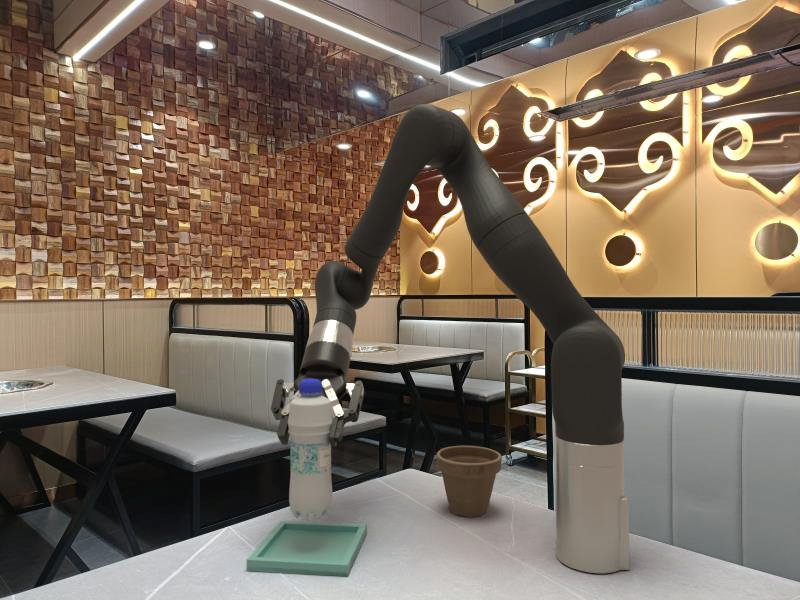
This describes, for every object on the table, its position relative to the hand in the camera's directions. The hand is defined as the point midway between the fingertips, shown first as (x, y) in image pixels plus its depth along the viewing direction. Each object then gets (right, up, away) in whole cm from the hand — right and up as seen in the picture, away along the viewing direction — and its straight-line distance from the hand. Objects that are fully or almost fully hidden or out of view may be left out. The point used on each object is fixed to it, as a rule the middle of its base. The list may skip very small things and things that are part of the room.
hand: (307, 442), depth 82 cm
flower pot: (+25, -17, +17) cm, 35 cm away
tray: (0, -16, +1) cm, 16 cm away
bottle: (0, -11, +2) cm, 11 cm away
